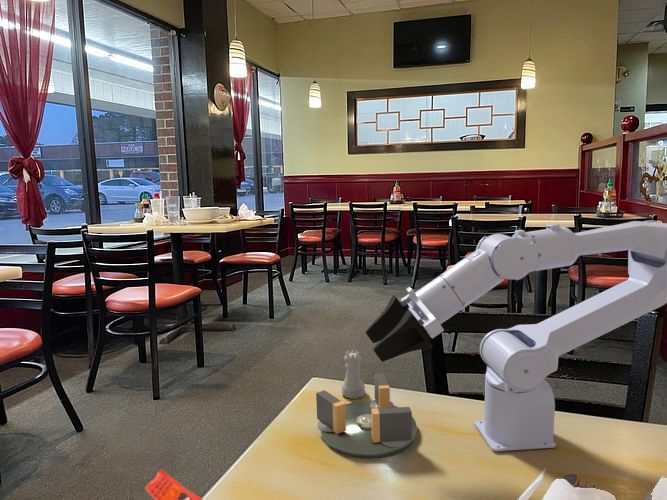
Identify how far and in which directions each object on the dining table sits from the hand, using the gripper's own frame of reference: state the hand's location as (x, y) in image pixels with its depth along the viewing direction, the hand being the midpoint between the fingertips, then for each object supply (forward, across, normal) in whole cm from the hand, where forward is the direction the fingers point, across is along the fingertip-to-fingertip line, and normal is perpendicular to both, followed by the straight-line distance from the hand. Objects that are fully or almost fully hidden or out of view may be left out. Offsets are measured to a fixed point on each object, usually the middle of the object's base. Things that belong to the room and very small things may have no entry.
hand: (372, 346), depth 71 cm
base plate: (+9, -5, +13) cm, 16 cm away
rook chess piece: (+9, -18, +12) cm, 24 cm away
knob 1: (+13, -5, +9) cm, 16 cm away
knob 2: (+6, 0, +13) cm, 15 cm away
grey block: (+5, -10, +14) cm, 18 cm away
